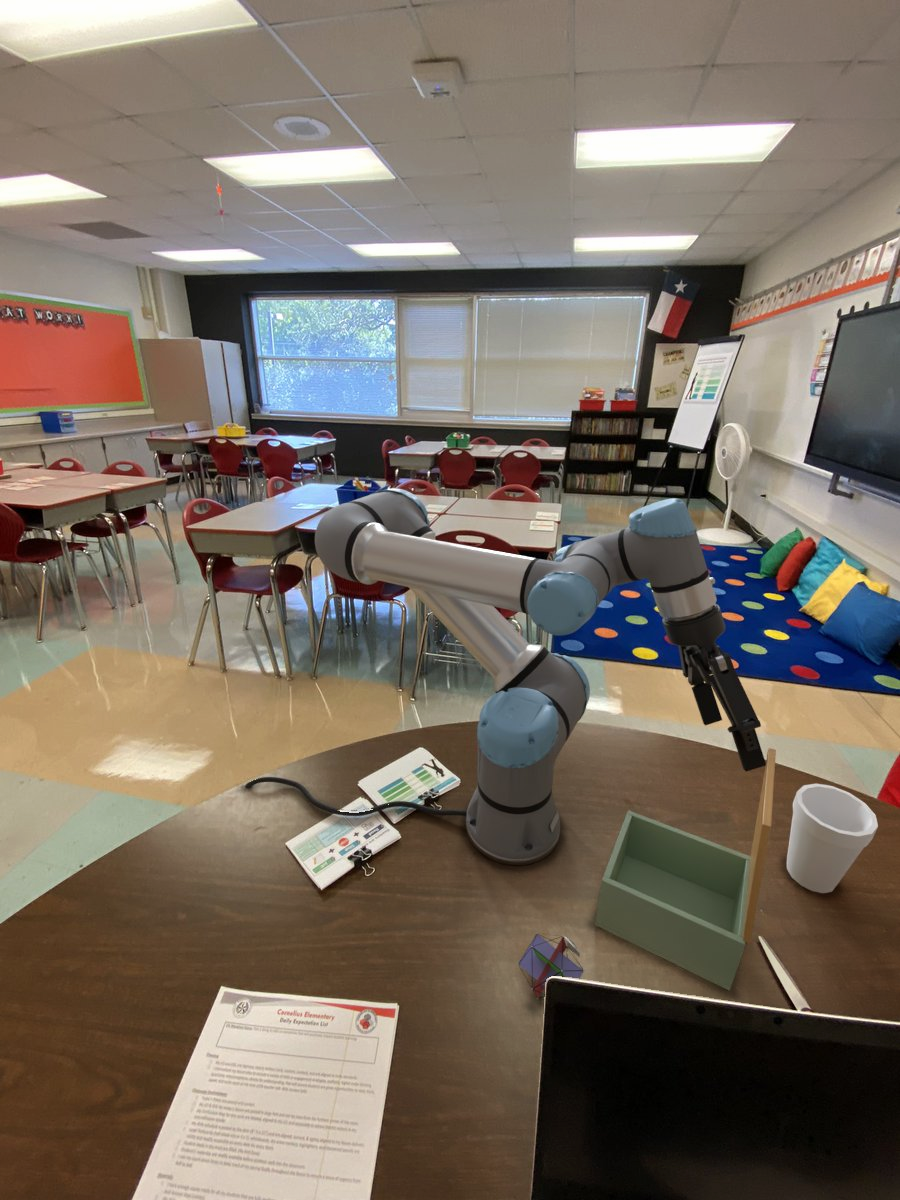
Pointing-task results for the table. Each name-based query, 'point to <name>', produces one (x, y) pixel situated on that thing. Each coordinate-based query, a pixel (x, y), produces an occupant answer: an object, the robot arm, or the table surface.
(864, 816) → the foam cup
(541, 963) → the geometric puzzle
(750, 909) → the lid
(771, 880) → the table surface
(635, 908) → the chest
